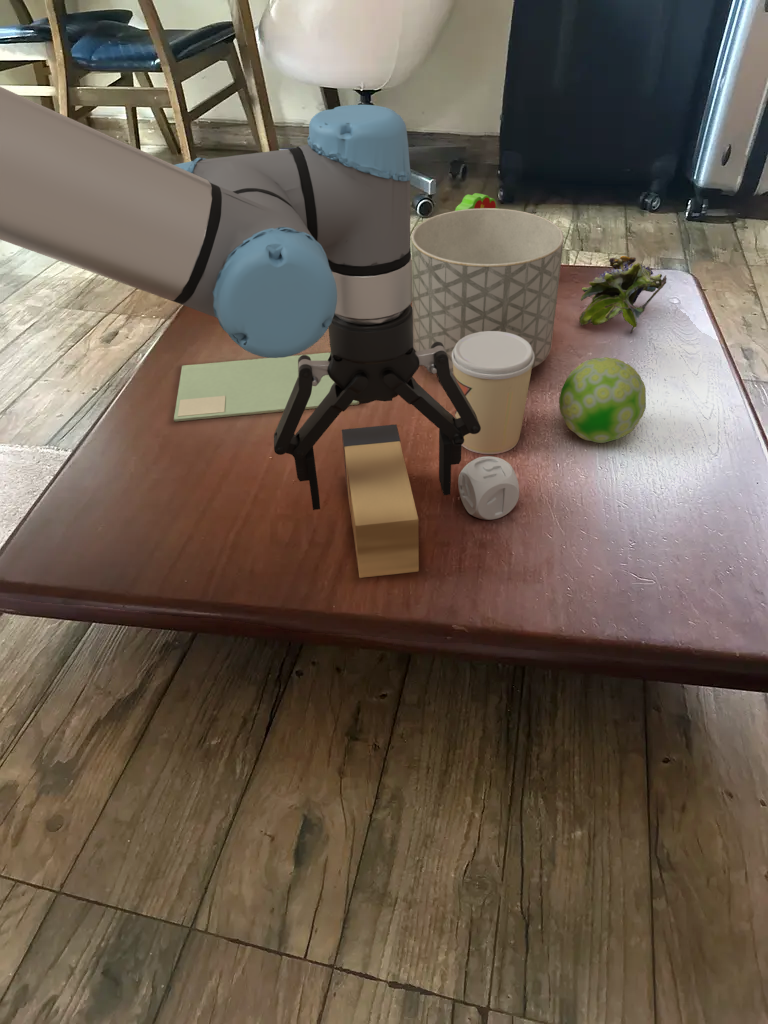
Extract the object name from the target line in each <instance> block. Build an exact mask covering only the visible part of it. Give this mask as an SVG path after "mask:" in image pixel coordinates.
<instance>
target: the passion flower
mask: <svg viewBox="0 0 768 1024" xmlns="http://www.w3.org/2000/svg"><path fill="white" fill-rule="evenodd" d="M636 261H637V258H636V257H630V256H626V255H621V256H620V257H619V258H616V257H610V258H609V259H608V262H609V268H608V269H609V271H608V270H604V271H603V273H597V274H598V275H599V276H597V277H595V276H594V279H593V280H592V281H589V282H588V284H589V286H588V287H582V288H581V290H582V291H583V292H584V293H583V294H582V295H581V298H580V301H581V302H582V301H584V300H585V299H587V298H588V297H592V298H591V302H590V303H589V304H588V306H587V307H586V309H585V310H584V311H583V312H582V313H581V314H580V316H579V324H580V326H582V327H583V326H585V325H588V324H591V325H593V326H598V325H602V324H605V323H606V322H608V321H610V320H611V319H613V318H614V317H616V316H618V315H619V314H620V313H622V317H623V318H624V321H625V322H626V323H627V324H628V325H630V326H631V330H630V333H629V334H631V335H632V334H633V332H634V330H635V328H637V327H638V325H637V323H638V321H639V319H640V317H641V315H642V314H643V313H644V312H645V309H646V307H647V305H648V304H649V303H650V302H651V301H652V299H654V297H655V296H656V295H657V294H658V293H659V292H660V290H662V289H663V288H664V286H665V285H666V284H667V280H668V279H667V275H664V277H663V274H662V273H659V274H657V275H654V271H652V270H653V267H650V266H649V265H647V267H646V264H645V265H643V264H641V262H637V263H635V262H636ZM610 267H612V269H611V268H610ZM662 277H663V278H662ZM643 291H645V292H648V293H652V294H651V296H650V297H649V298H648V299H647V300H646V302H644V303H643V304H641V305H640V306H637V307H636V306H635V303H636V302H637V299H638V298H639V296H640V295H641V293H642V292H643Z"/></svg>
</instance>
